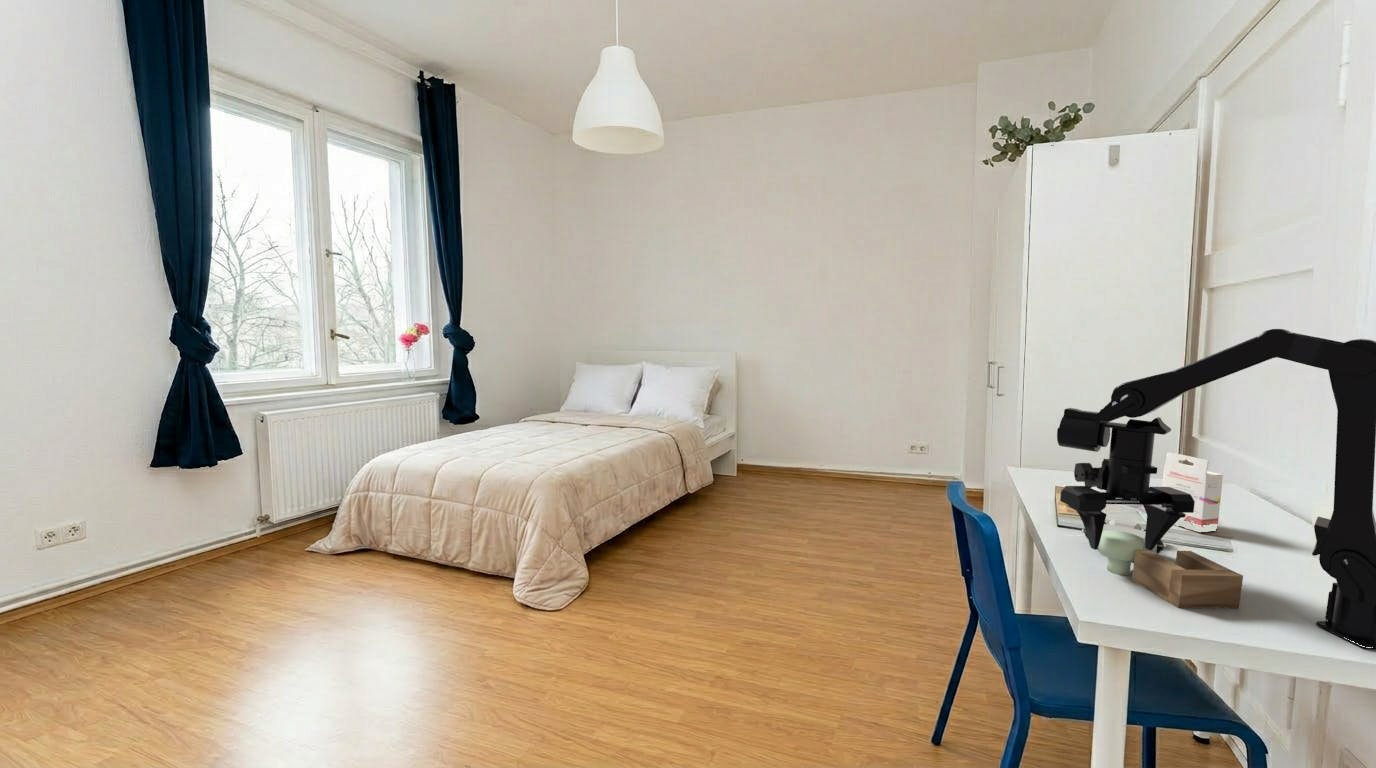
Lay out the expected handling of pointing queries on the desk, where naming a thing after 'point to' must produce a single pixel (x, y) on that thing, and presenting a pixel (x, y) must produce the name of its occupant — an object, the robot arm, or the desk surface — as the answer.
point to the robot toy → (1130, 531)
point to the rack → (1188, 580)
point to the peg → (1119, 550)
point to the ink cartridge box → (1195, 486)
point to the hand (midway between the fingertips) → (1121, 549)
